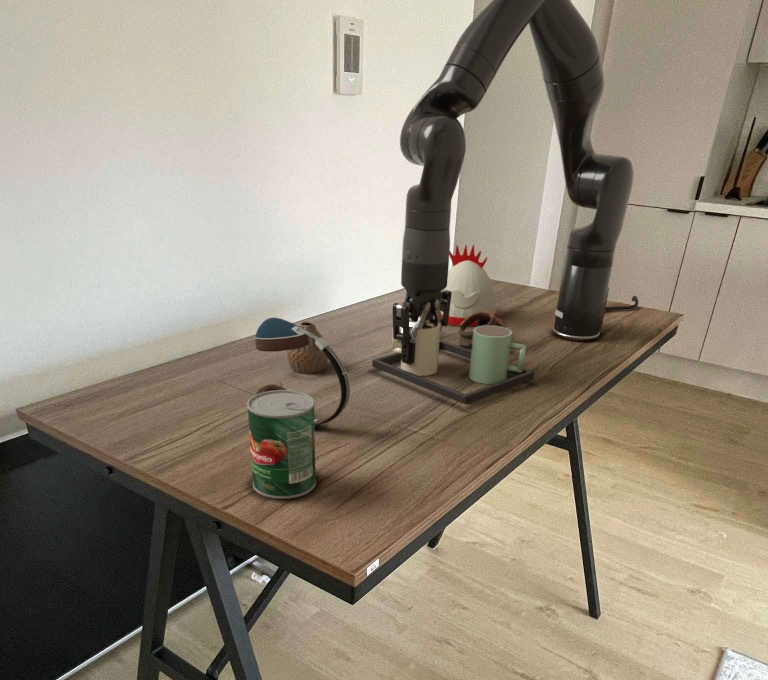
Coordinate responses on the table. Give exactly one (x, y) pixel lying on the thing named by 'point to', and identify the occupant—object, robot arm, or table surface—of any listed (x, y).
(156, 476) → the table surface
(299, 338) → the headphones
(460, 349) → the tray
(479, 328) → the green cup
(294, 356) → the vase
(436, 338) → the cream cup
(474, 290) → the kitchen timer
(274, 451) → the canned tomato
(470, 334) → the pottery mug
